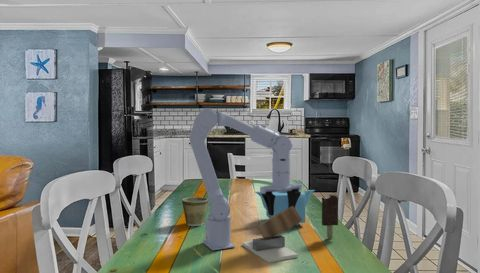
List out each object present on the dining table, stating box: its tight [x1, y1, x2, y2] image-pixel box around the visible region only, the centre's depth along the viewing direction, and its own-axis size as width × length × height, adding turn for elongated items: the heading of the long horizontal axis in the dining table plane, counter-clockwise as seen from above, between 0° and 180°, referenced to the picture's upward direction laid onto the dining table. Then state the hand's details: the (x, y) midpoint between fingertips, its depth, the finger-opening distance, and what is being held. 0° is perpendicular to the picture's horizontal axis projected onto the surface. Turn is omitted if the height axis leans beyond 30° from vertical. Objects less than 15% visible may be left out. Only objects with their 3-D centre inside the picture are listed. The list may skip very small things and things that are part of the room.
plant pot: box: [181, 196, 209, 227], centre depth 147 cm, size 13×10×10 cm
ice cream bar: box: [321, 194, 339, 240], centre depth 127 cm, size 5×2×15 cm, turn 95°
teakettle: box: [254, 189, 316, 227], centre depth 148 cm, size 19×19×15 cm
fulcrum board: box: [241, 234, 299, 263], centre depth 115 cm, size 17×10×4 cm, turn 25°
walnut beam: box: [256, 206, 302, 238], centre depth 118 cm, size 16×5×6 cm
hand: (281, 213), depth 121 cm, fingers open, 7 cm apart
